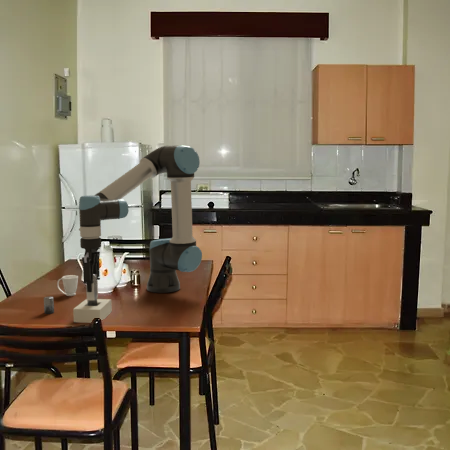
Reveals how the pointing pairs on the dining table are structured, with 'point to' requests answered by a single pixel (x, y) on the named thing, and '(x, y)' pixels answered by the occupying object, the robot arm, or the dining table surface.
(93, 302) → the long pin
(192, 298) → the dining table surface
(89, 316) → the hole block
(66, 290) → the cup
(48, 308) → the short pin
